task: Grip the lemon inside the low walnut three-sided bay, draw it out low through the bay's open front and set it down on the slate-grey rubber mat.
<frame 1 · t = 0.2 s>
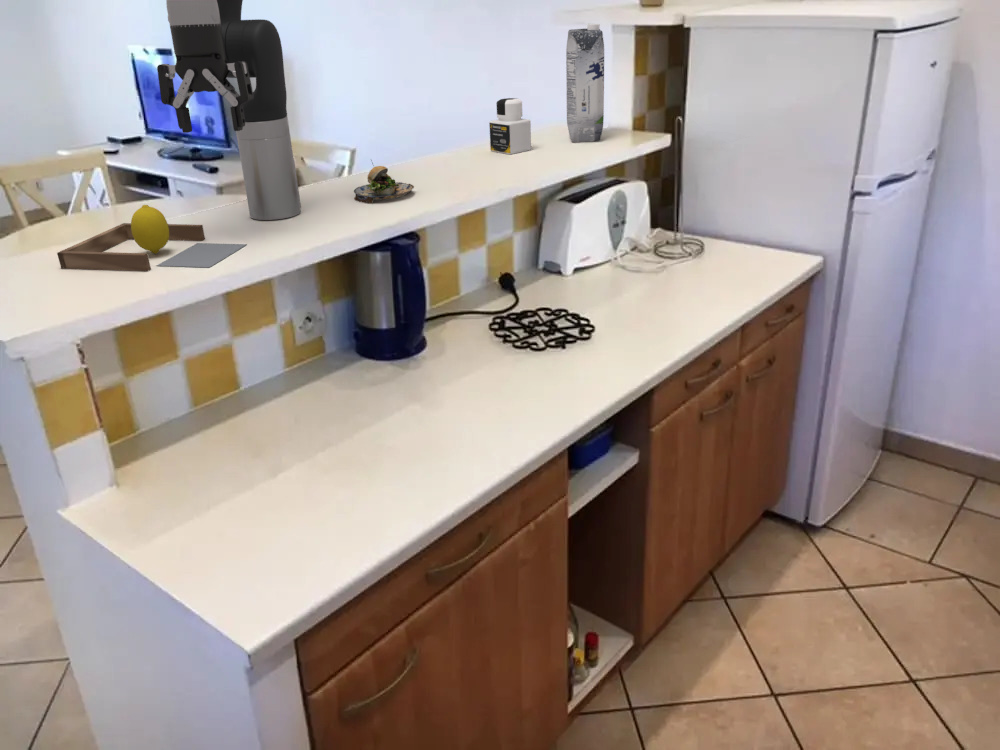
hand: (212, 131, 136), 17 cm above the worktop, tool pointing down, fingers open, 8 cm apart
mat: (203, 255, 135), on the worktop
juice carton: (584, 140, 214), on the worktop
bay: (136, 253, 137), on the worktop
medicine bottle: (510, 151, 204), on the worktop
burger: (384, 198, 167), on the worktop
lemon: (155, 255, 137), on the worktop
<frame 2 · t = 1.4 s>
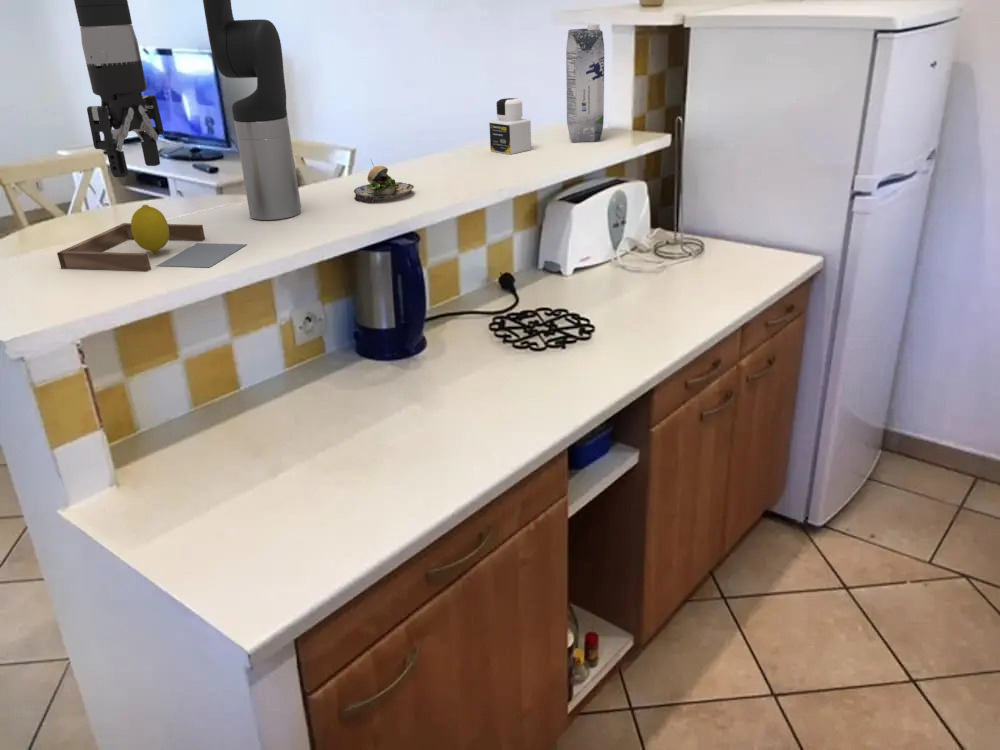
hand: (137, 171, 130), 13 cm above the worktop, tool pointing down, fingers open, 8 cm apart
nothing on the worktop moved.
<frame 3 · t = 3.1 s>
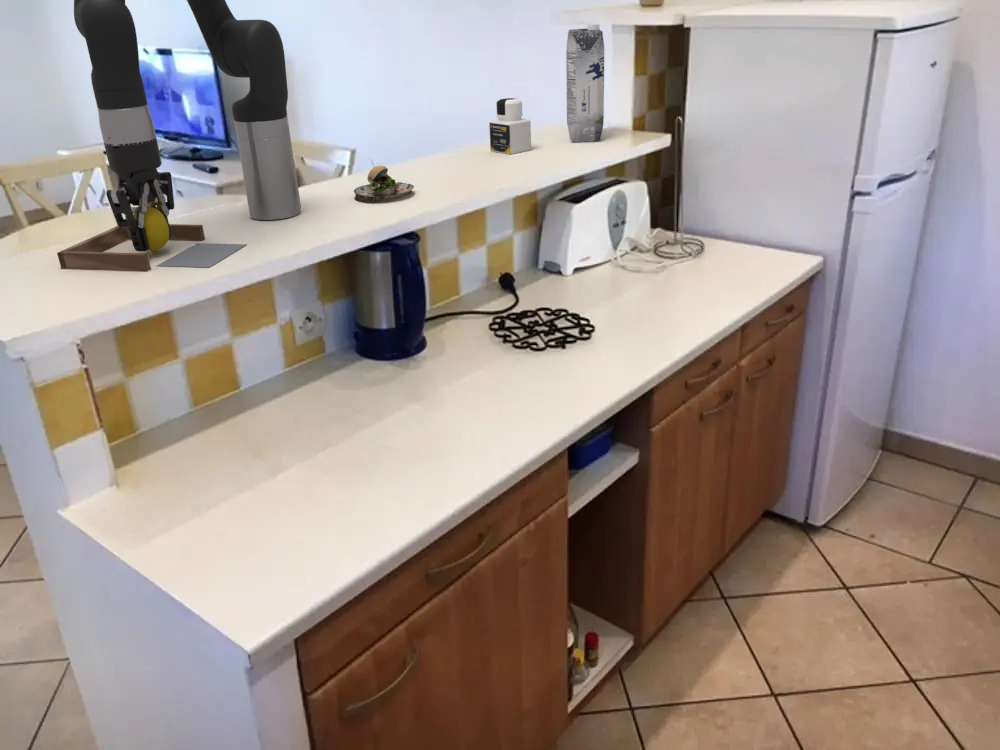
hand: (153, 244, 136), 2 cm above the worktop, tool pointing down, fingers closed on lemon, 5 cm apart
lemon: (155, 255, 137), on the worktop, touching gripper
everything else where it was.
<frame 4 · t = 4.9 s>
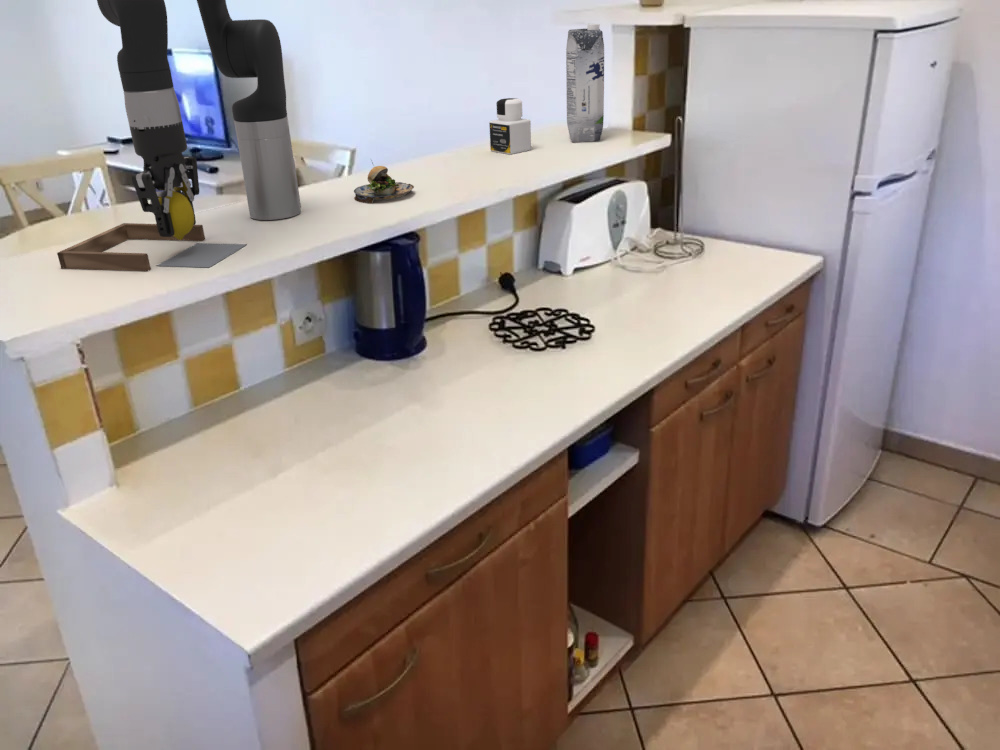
hand: (178, 230, 134), 4 cm above the worktop, tool pointing down, fingers closed on lemon, 5 cm apart
lemon: (180, 240, 135), point 2 cm above the worktop, touching gripper
everything else where it was.
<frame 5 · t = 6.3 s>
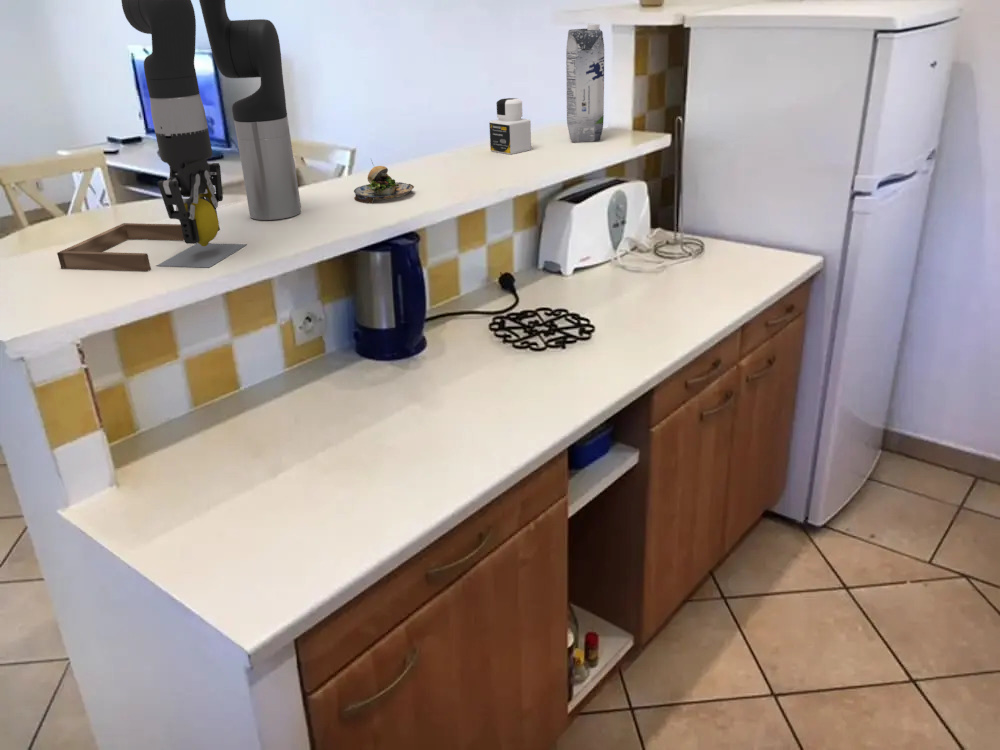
hand: (202, 236, 133), 3 cm above the worktop, tool pointing down, fingers closed on lemon, 5 cm apart
lemon: (204, 247, 134), point 1 cm above the worktop, touching gripper
everything else where it was.
when the fingers open (3 cm above the worktop, at t = 6.9 s): lemon drops 1 cm, resting on mat.
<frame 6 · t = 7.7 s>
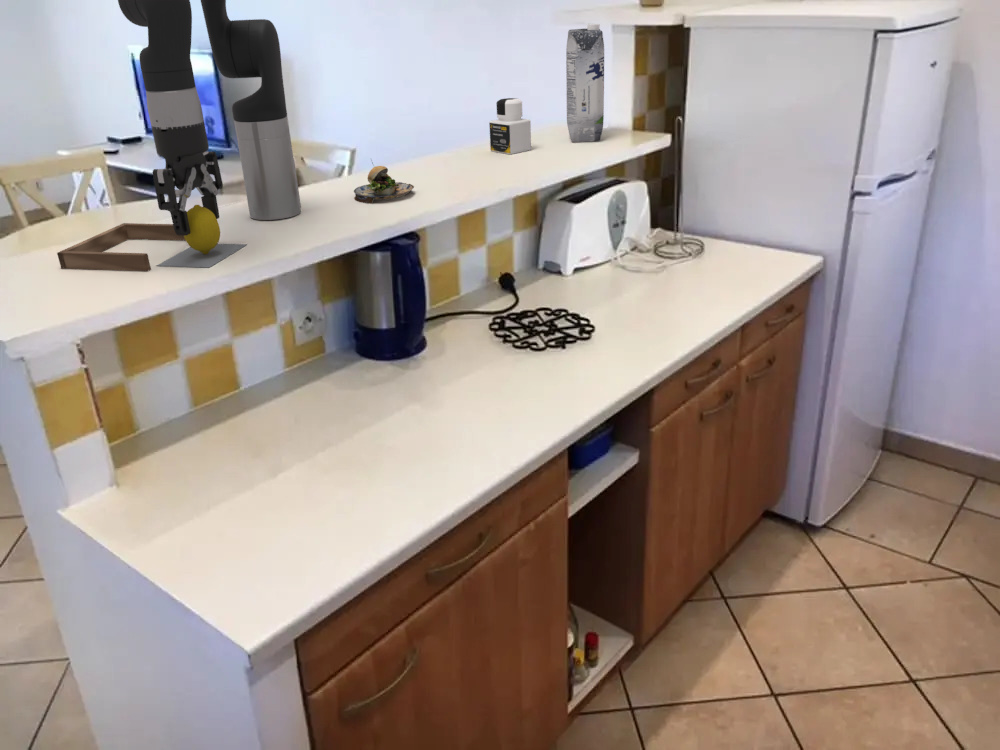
hand: (198, 226, 133), 5 cm above the worktop, tool pointing down, fingers open, 8 cm apart
lemon: (206, 255, 135), resting on mat
everything else where it was.
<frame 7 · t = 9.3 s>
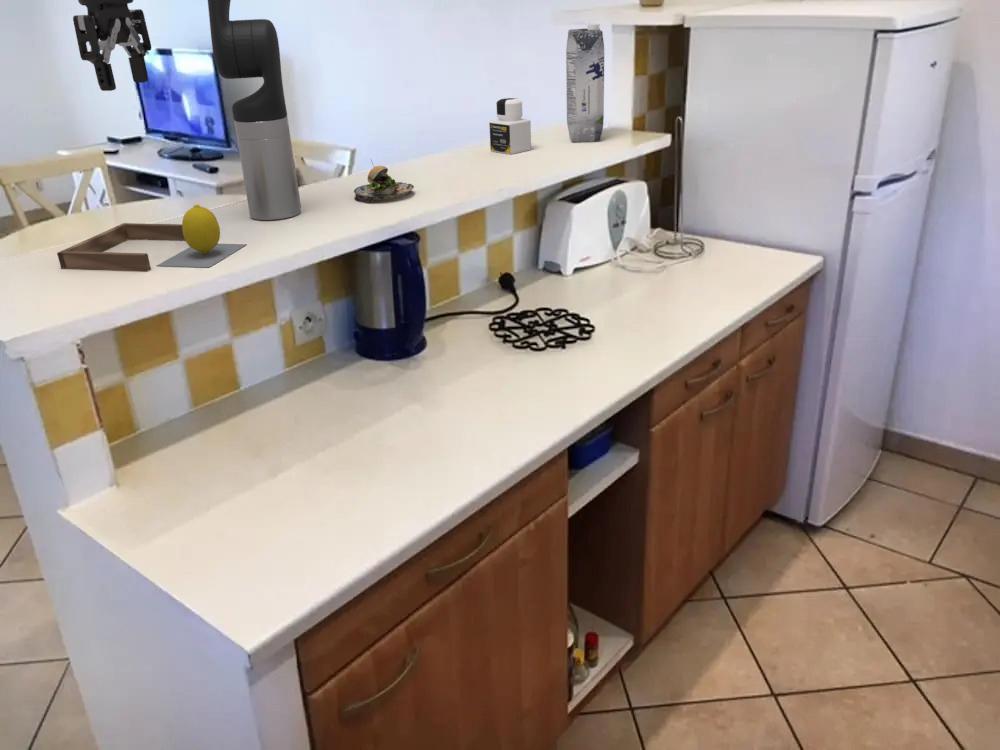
hand: (125, 86, 129), 25 cm above the worktop, tool pointing down, fingers open, 8 cm apart
nothing on the worktop moved.
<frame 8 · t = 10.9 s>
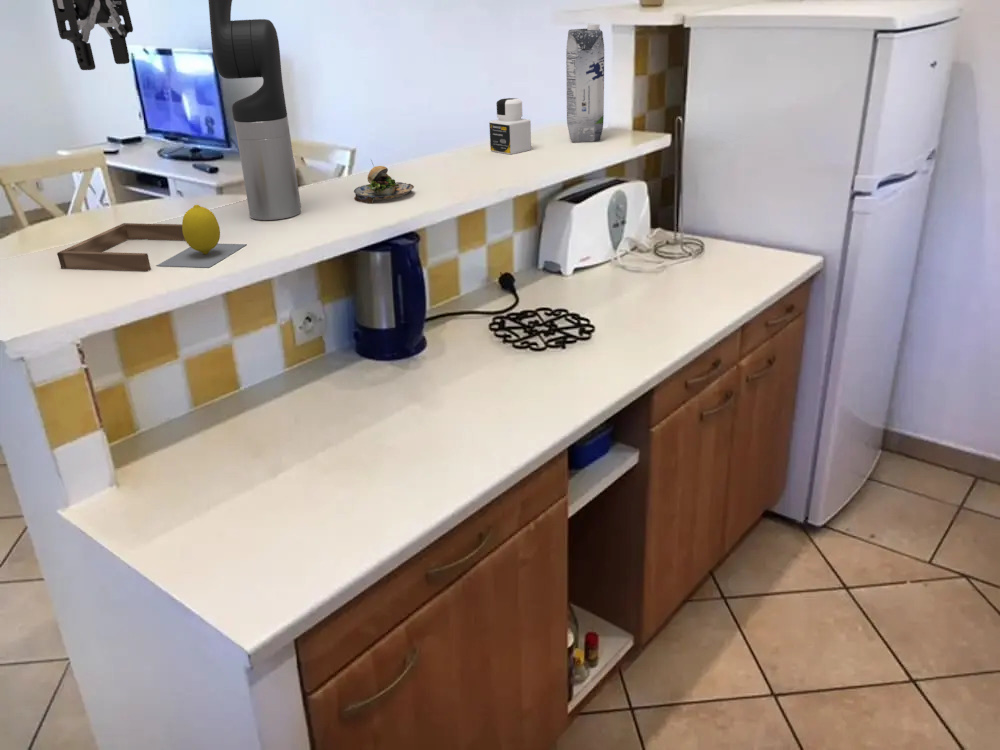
hand: (105, 66, 130), 28 cm above the worktop, tool pointing down, fingers open, 8 cm apart
nothing on the worktop moved.
at the end: lemon inside the target area (0.0 cm from its centre), resting on mat; lemon moved 9.0 cm from its start; the gripper is holding nothing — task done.
